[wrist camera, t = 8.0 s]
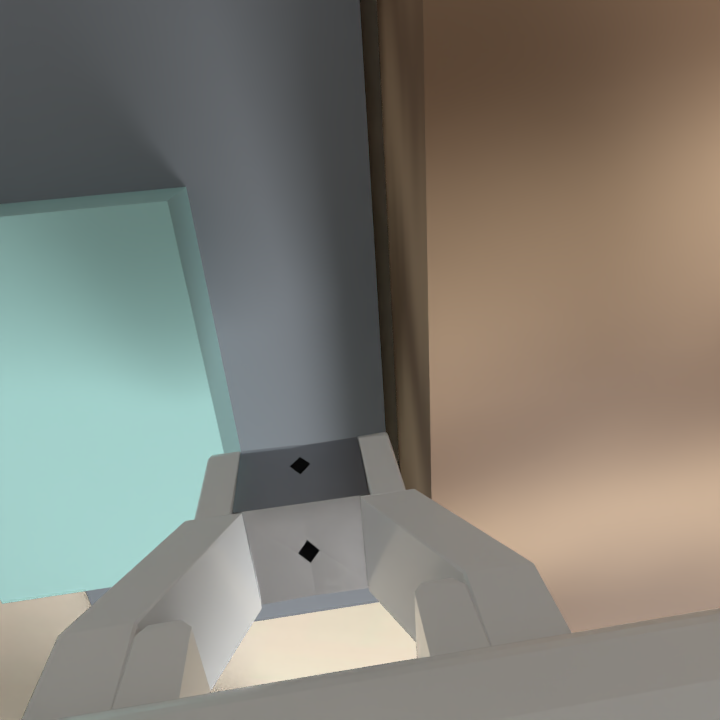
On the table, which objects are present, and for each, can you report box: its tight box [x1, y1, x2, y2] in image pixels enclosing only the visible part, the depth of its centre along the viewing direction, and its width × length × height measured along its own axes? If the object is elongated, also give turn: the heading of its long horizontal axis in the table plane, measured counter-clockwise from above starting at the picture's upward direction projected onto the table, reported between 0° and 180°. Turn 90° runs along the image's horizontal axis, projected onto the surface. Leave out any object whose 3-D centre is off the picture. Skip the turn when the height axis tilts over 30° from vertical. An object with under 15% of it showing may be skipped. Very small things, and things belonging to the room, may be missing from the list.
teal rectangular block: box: [0, 187, 241, 604], centre depth 12 cm, size 9×6×2 cm, turn 5°
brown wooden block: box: [377, 0, 720, 633], centre depth 13 cm, size 18×9×4 cm, turn 4°
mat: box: [0, 0, 386, 621], centre depth 13 cm, size 18×9×1 cm, turn 4°
